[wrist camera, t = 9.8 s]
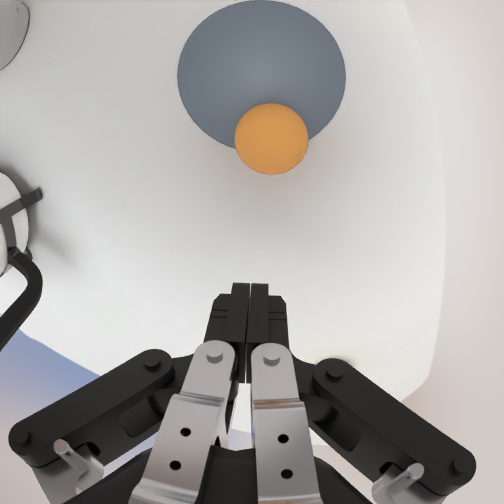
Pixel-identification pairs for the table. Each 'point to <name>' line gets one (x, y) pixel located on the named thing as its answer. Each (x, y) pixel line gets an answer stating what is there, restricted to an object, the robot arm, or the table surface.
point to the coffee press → (17, 255)
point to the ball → (271, 138)
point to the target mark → (260, 67)
